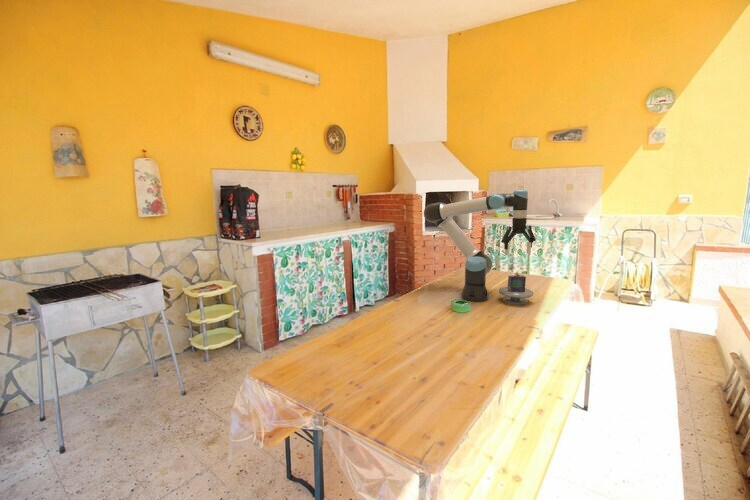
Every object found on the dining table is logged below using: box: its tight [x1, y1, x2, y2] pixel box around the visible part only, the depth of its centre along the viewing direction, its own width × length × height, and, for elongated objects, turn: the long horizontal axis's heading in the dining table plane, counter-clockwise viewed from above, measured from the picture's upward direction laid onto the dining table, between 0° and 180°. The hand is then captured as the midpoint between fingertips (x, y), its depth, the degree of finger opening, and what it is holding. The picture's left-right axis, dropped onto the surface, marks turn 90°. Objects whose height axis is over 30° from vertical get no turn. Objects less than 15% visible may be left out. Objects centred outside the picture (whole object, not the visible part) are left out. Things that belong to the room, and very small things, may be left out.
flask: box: [507, 272, 527, 292], centre depth 200 cm, size 9×3×11 cm, turn 77°
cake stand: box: [498, 286, 534, 306], centre depth 201 cm, size 18×18×6 cm
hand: (517, 254), depth 206 cm, fingers open, 13 cm apart
